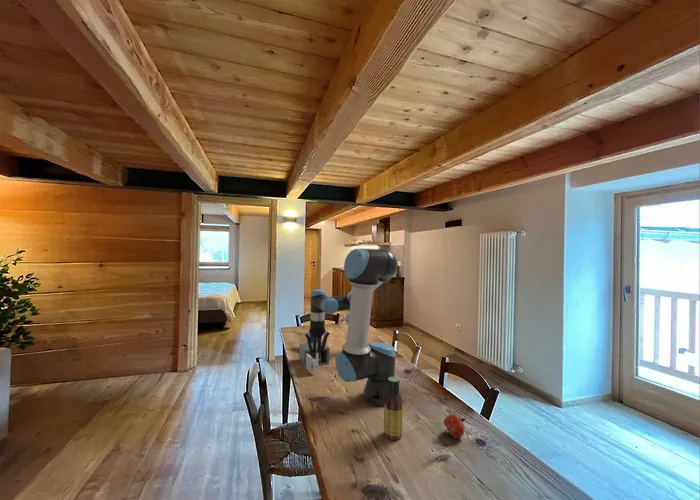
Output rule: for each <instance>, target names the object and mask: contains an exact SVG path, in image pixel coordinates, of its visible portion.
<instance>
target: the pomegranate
mask: <svg viewBox="0 0 700 500" xmlns="http://www.w3.org/2000/svg"><path fill="white" fill-rule="evenodd" d="M466 420H467V419H466V418H465V417H464V418H460V417H459V416H457V415H456V414H448V415H446V417H445V418H444V420H443V424H444V426H445V428H446V430H445V431H442V433H443V434H444V433H445V434H446V432H449V434H450V435H451V436H452V438H453V439H460V438H462V436H463V435H464V434H465V424H464V421H466Z"/></svg>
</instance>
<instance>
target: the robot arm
mask: <svg viewBox="0 0 700 500" xmlns="http://www.w3.org/2000/svg"><path fill="white" fill-rule="evenodd" d="M343 263H344V264H343V270H344V275H345V276H346V277H347V279H348V282H349V284H350V285H351V290H350V291H349V292H348V293H347V294H346V295H335V296H333V295H332V296H327V295H326V294H327V293H326V290H324V289H317V288H316V289H312V290H311V291H310V313H309V314H310V317H309V319H310V320H309V330H308V332H307V333H306V332H305V333H304V336H305V338H306V341H307V342H308V346H309V350H310V352H312V353H313V358H314V359H315V360H316V367H319V365H318V361H319V359H320V353H321V352H322V351H324V349H325V345H327V341H328V337H329V336H330V332H329V331H326V329H325V328H326V327H325V324H326V323H325V321H326V320H325V319H326V314H329V315H333V314H335V313H336V312H346V311H348V313H349V323H348V326H347V333H346V334H347V335H346V342H344V343H343V344H342V348H341V349H342V350H341V352H337V354H336V355H335V359H334V361H335V367H336V368H335V369H336V371H337V374H338V376H339V377H340V378H341V380H342V381H343V382H345V383H351V382H353V383H355V382H357V381H360V380H361V381H362V380H365V379H366V383H365V385H364V388H363V394H362V398H363V400H364V401H365V402H367V403H369V404H370V405H373V406H378V407H379V406H380V407H384V401H385V398H386V395H387V392H388V378H389V377H396V376H395V370H396V357H397V356H396V349H395V347H394V346H392V345H390V344H388V343H384V342H381V341H380V342H379V341H372V342H369V332H370V324H371V315H372V314H371V313H372V305H373V304H372V303H373V294H374V293H373V292H374V291H375V290H377V288H378V287H380V286H381V285H382V284H383V283H387V282H389V281H390V280H391V279H392V278H394V276H395V275H396V273H397V272H398V266H399V264H398V260H397V257H396V256H395V255H394V254H393V252H391V251H390V250H387V249H381V248H380V249H377V248H376V249H375V248H355V249H352V250H350V251H349V252H348V253H347V255H346V257H345V259H344V262H343ZM310 334H311V335H312V337H313V349H312V345H311V341H310ZM322 337H323V338H322ZM317 338H318V343H317V351H318V352H316V340H317ZM307 342H306V343H307ZM321 342H322V345H321ZM368 342H369V343H368Z"/></svg>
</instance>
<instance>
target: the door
mask: <svg viewBox="0 0 700 500" xmlns="http://www.w3.org/2000/svg"><path fill="white" fill-rule="evenodd" d="M316 367H317V366H316V360H315V359H314V358H312V357H311V356H310V355H309V354H308V353H306V367H305V368H307V369H308V370H309V371H310V372H311V373H312V374H314V375H315V374H316V373H317V371H316Z"/></svg>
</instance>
